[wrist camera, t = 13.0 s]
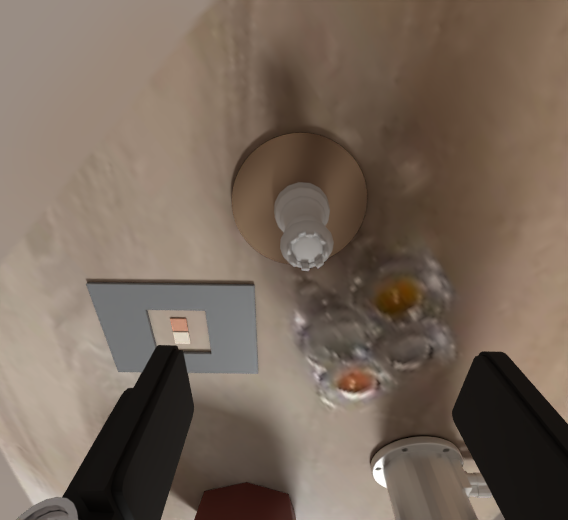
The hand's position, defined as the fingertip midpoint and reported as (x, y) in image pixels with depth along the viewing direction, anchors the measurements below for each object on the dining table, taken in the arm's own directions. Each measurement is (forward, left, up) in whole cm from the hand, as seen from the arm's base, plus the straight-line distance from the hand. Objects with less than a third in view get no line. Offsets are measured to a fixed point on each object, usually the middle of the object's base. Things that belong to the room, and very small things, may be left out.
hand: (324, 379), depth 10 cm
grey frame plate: (+12, +14, -17) cm, 25 cm away
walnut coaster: (0, 0, -17) cm, 17 cm away
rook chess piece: (0, 0, -17) cm, 17 cm away
